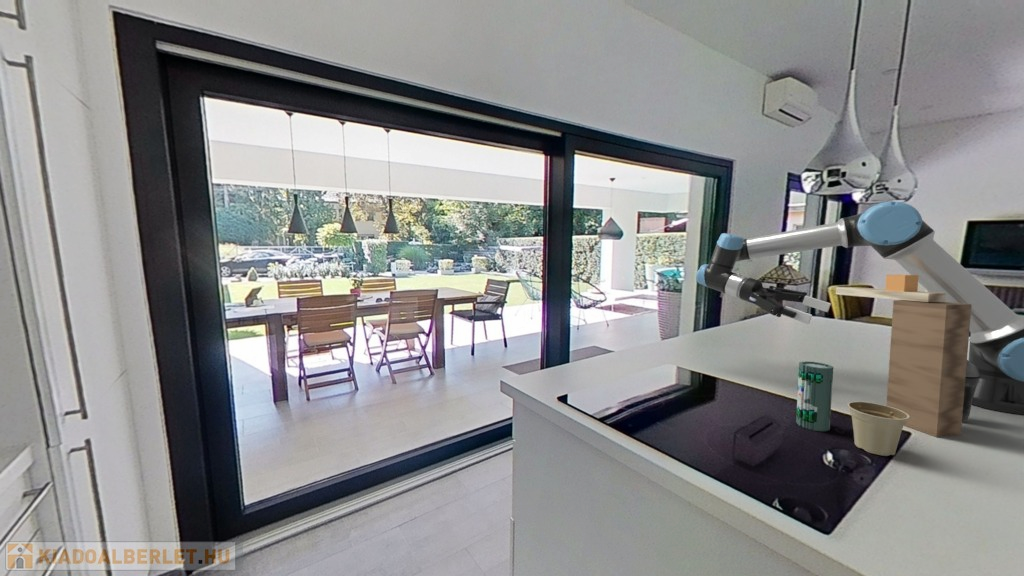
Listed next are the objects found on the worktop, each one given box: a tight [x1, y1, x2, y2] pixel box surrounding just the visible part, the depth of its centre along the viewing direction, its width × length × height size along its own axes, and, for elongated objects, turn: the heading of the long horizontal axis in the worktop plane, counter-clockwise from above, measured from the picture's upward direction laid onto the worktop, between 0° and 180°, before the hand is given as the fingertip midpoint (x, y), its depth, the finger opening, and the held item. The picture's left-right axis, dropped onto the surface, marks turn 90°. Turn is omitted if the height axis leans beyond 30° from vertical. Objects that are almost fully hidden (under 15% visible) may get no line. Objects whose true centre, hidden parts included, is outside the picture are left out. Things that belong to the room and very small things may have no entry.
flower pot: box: [846, 400, 910, 457], centre depth 79 cm, size 9×9×9 cm
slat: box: [835, 286, 946, 302], centre depth 97 cm, size 5×21×2 cm, turn 9°
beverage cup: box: [962, 359, 980, 424], centre depth 93 cm, size 7×7×20 cm
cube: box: [885, 274, 919, 292], centre depth 93 cm, size 4×4×4 cm
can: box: [795, 361, 834, 432], centre depth 90 cm, size 6×6×15 cm
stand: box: [885, 299, 972, 438], centre depth 89 cm, size 7×10×30 cm
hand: (820, 313), depth 108 cm, fingers open, 13 cm apart
